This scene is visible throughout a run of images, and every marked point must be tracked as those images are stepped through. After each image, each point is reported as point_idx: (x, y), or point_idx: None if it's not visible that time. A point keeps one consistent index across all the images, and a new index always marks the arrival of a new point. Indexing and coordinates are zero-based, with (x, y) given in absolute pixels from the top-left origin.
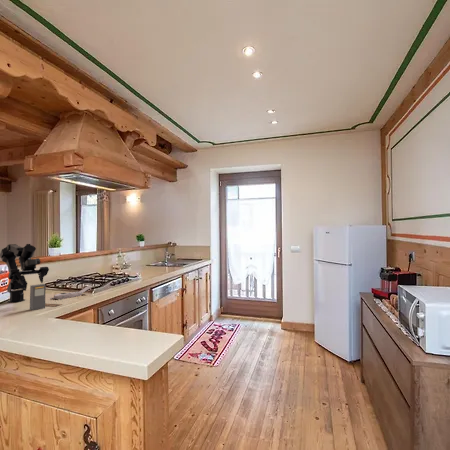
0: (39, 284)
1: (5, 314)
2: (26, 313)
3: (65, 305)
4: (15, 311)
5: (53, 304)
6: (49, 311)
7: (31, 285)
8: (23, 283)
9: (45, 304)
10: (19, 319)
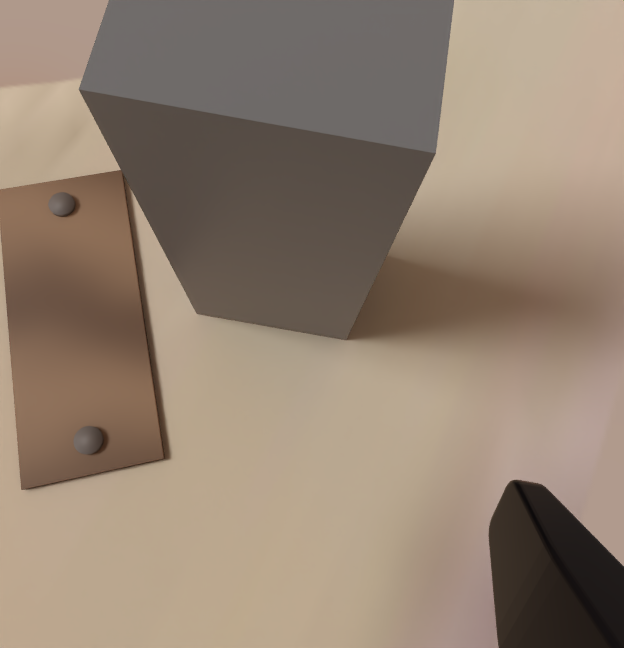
0: (195, 79)
1: (615, 359)
2: (464, 176)
3: (22, 119)
4: (488, 407)
5: (41, 297)
6: None
7: (419, 119)
8: (537, 496)
9: (78, 415)
10: (601, 19)
